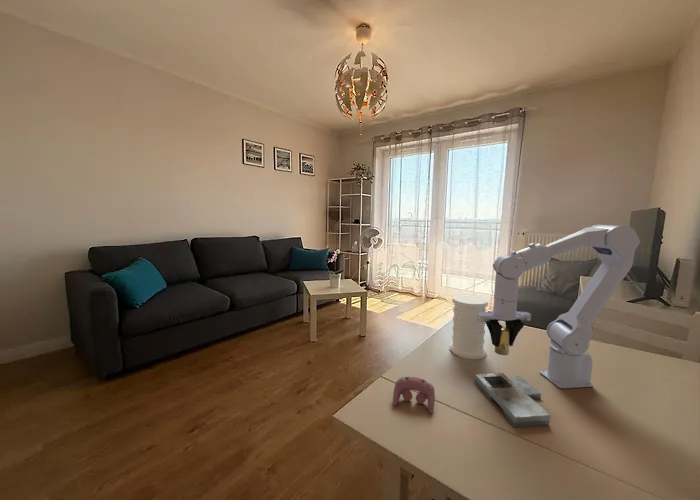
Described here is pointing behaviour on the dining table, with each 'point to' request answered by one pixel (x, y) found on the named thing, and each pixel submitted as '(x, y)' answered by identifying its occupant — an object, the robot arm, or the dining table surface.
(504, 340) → the pin
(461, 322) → the decorative container
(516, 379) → the lower link
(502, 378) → the upper link
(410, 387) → the video game controller
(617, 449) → the dining table surface
